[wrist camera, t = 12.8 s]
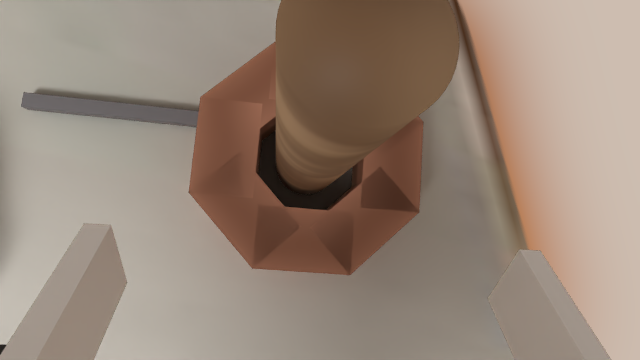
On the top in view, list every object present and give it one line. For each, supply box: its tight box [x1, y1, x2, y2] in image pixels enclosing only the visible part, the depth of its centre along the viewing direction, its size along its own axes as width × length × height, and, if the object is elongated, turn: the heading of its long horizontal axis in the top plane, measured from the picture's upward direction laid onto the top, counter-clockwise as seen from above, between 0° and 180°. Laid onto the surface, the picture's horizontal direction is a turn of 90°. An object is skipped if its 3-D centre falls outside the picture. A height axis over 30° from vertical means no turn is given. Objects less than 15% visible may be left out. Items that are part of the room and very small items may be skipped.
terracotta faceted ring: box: [189, 42, 423, 275], centre depth 22 cm, size 12×12×3 cm
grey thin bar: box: [21, 92, 199, 127], centre depth 22 cm, size 10×1×1 cm, turn 85°
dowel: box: [276, 0, 459, 195], centre depth 15 cm, size 4×4×16 cm
